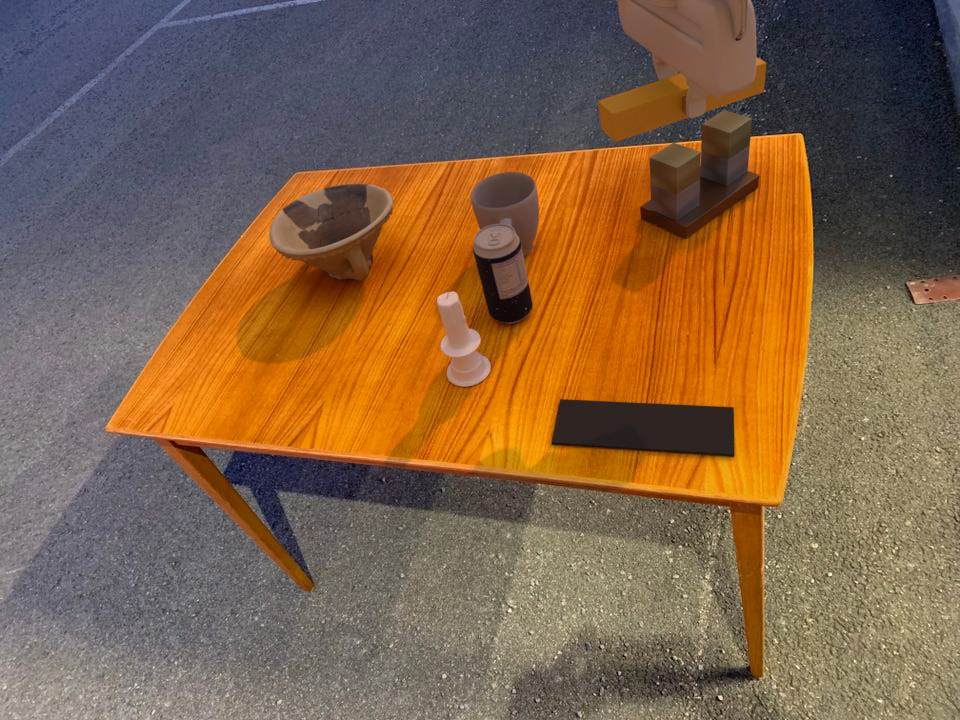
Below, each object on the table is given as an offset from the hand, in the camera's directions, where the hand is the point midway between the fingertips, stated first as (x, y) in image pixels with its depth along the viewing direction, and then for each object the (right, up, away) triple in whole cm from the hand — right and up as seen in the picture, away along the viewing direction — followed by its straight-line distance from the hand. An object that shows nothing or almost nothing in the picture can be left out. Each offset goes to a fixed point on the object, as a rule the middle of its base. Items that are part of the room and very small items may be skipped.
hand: (681, 104), depth 70 cm
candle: (-21, -27, +13) cm, 37 cm away
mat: (-3, -33, +3) cm, 33 cm away
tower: (+11, -4, +28) cm, 30 cm away
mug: (-15, -11, +28) cm, 33 cm away
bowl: (-39, -12, +34) cm, 53 cm away
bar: (0, 0, 0) cm, 1 cm away
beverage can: (-16, -20, +19) cm, 32 cm away
